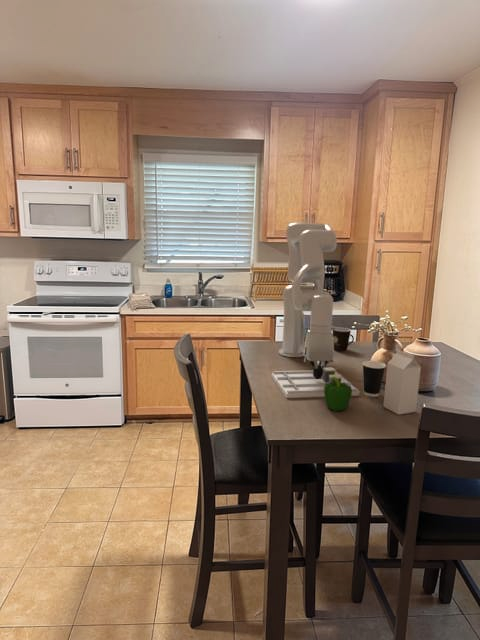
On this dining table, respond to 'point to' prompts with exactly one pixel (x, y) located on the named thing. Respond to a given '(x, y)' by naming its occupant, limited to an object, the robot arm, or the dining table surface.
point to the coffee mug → (341, 338)
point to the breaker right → (336, 377)
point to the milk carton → (402, 383)
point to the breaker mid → (327, 373)
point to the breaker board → (304, 384)
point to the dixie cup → (372, 377)
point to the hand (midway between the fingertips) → (317, 378)
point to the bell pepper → (337, 395)
